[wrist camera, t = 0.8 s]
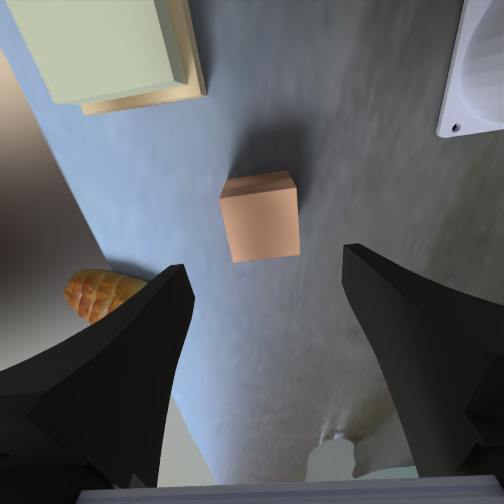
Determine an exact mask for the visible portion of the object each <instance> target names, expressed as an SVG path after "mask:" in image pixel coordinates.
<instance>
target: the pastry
mask: <svg viewBox="0 0 504 504" xmlns="http://www.w3.org/2000/svg"><path fill="white" fill-rule="evenodd" d="M147 284H148V282H147V281H144V280H140V279H138V278H133V277H130V276H128V275H123V274H119V273H115V272H112V271H109V270H101V269H85V270H82V271H79V272H77V273H75V275H74V276H73V277H72V278H71V279H70V281H69V283H68V285H67V286H66V288H65V289H64V291H63V294H64V296H65V298H66V299H67V300H68V303H69V304H70V306H71V307H72V308H74V309H75V310H76V311H78V314H79V316H80V317H82V318H84V319H87V320H89V321H90V324H91V325H92V324H94V323H95V322H97V321H98V320H100V319H101V318H103V317H104V316H106V315H107V314H109V313H110V312H112V311H113V310H115V309H116V308H117V307H119V306H120V305H121V304H123V303H124V302H125V301H126V300H128V299H129V298H130V297H132V296H133V295H134V294H136V293H137V292H138V291H139V290H141V289H142V288H143V287H144V286H145V285H147Z"/></svg>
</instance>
